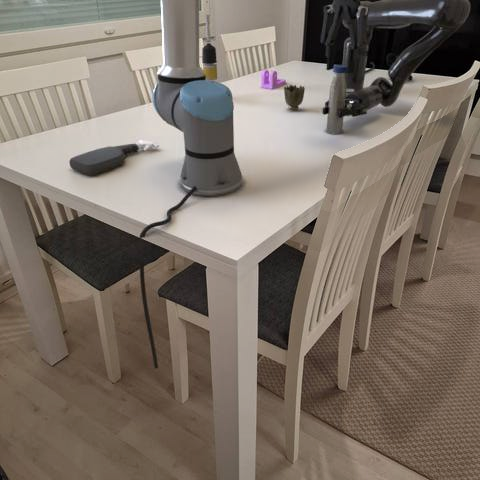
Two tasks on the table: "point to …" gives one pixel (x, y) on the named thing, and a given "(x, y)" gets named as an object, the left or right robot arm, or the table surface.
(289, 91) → the cup
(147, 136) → the table surface
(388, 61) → the squiggle
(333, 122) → the bottle
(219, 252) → the table surface
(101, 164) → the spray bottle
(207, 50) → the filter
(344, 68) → the cap
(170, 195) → the table surface
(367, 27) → the right robot arm
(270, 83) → the bracket
